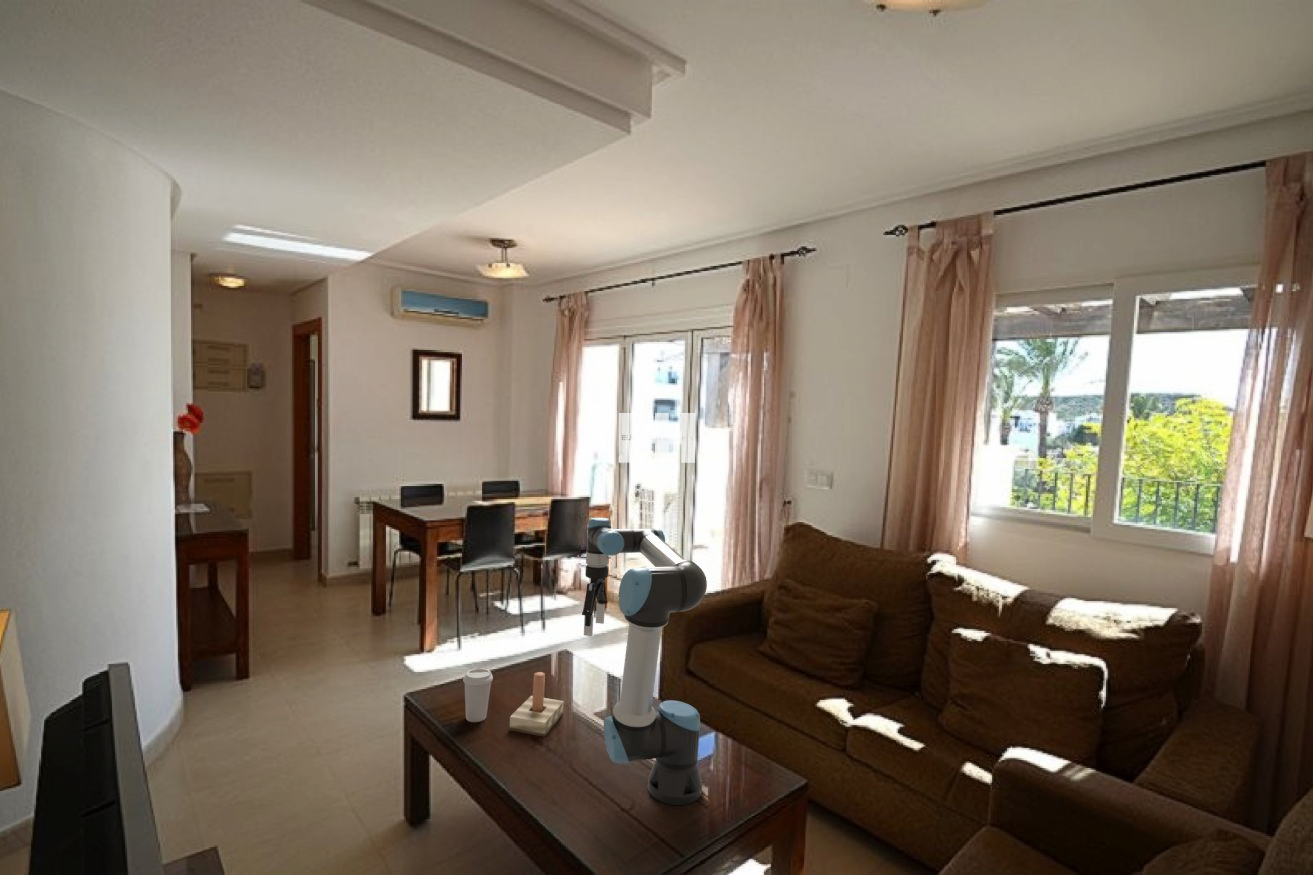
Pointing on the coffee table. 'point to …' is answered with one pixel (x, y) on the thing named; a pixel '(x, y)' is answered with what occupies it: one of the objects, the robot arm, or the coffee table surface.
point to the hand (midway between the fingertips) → (594, 629)
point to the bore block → (536, 717)
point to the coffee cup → (477, 693)
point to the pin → (538, 692)
